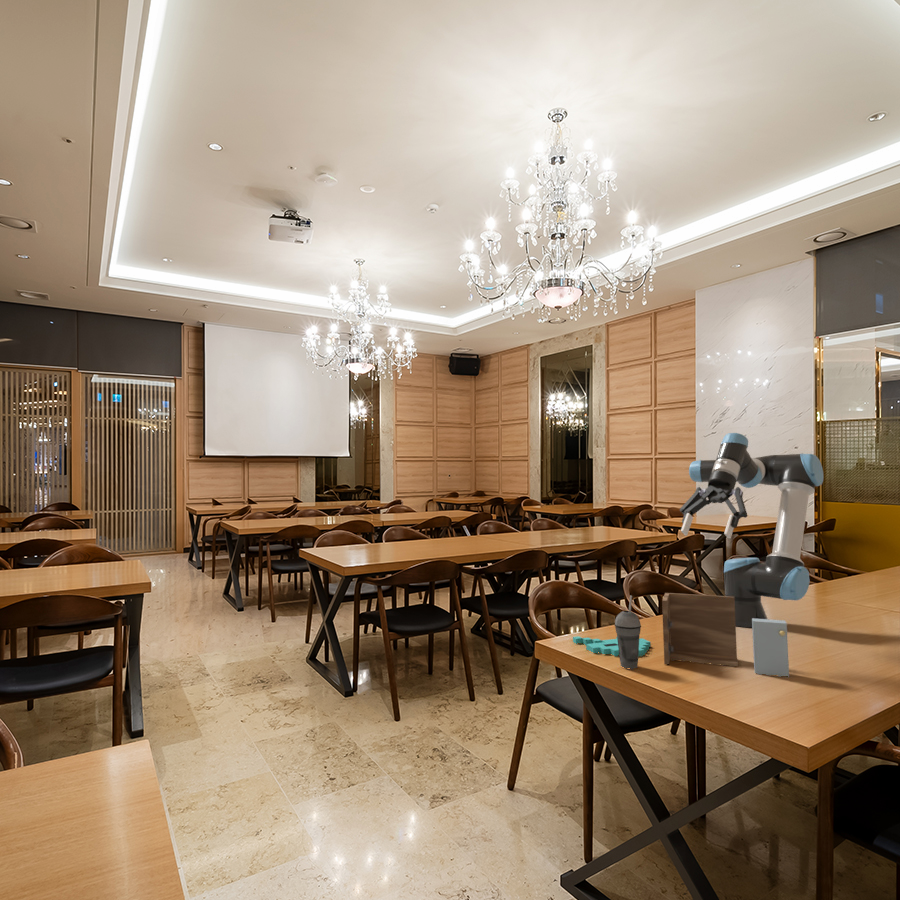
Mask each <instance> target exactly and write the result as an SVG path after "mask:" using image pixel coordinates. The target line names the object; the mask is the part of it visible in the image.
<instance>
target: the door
mask: <svg viewBox="0 0 900 900" xmlns="http://www.w3.org/2000/svg"><path fill="white" fill-rule="evenodd" d="M751 628H752V643H753V644H752V645H753V646H752V647H753V667H754V668H753V670H755V671H754V674H755V673H757V674H756V675H762V674H766V675H765V676H771V675H778V676H777V677H781V676H788V677H787V678H790V667H789V666H790V665H789V663H790V662H789V646H788V645H789V643H788V623H787V621H786V620H785V619H783V620H780V619H771V618H770V619H768V618H767V619H755V618H752V627H751Z"/></svg>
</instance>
